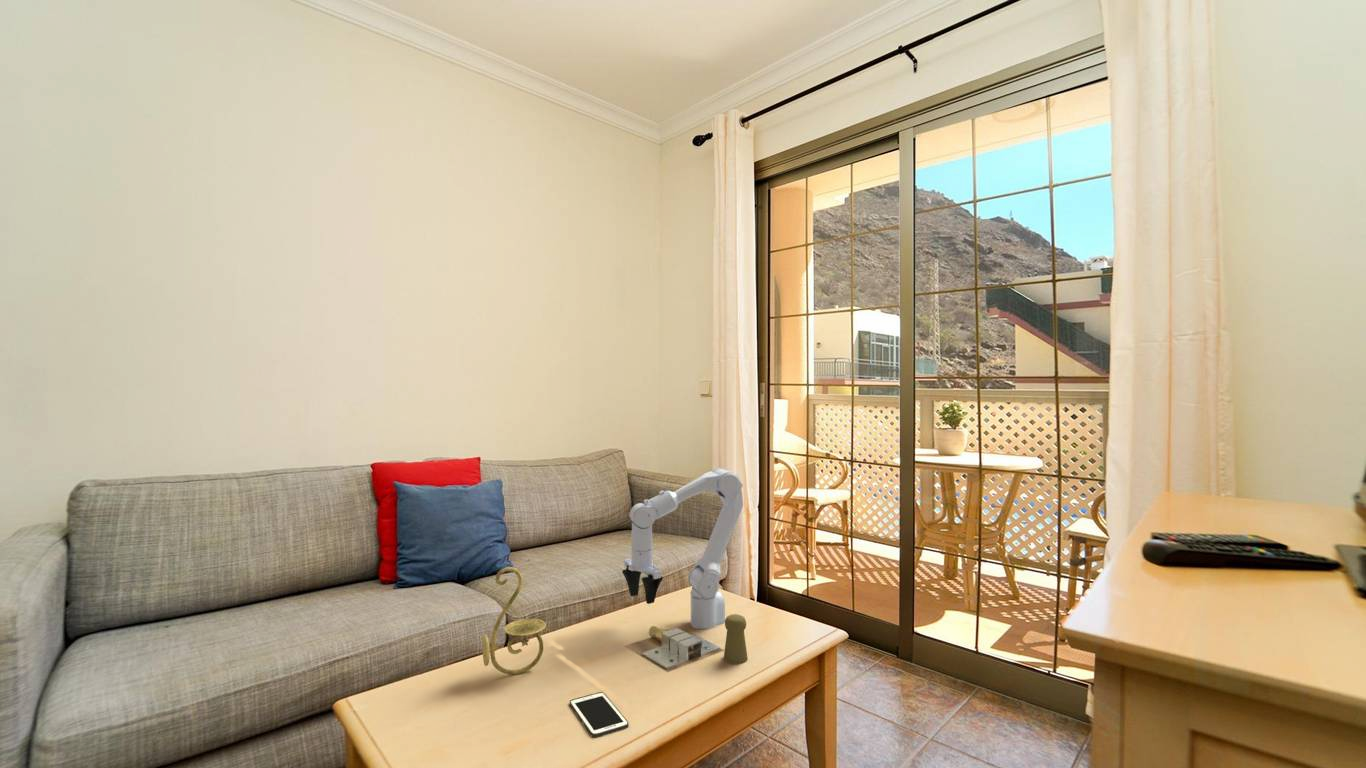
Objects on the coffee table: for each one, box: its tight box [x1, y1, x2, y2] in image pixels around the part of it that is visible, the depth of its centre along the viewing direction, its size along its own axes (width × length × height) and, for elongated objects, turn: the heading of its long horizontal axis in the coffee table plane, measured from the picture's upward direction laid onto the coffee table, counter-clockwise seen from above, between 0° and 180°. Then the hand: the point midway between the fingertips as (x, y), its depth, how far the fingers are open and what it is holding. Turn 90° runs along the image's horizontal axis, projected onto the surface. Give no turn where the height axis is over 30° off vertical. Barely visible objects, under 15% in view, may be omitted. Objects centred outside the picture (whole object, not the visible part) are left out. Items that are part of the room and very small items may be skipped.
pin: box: [648, 625, 667, 642], centre depth 151 cm, size 10×3×3 cm, turn 39°
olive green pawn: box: [723, 613, 748, 665], centre depth 142 cm, size 6×6×11 cm
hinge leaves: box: [642, 627, 721, 669], centre depth 146 cm, size 17×10×4 cm, turn 129°
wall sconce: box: [481, 566, 547, 676], centre depth 136 cm, size 14×10×25 cm
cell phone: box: [569, 691, 630, 739], centre depth 119 cm, size 8×15×1 cm, turn 29°
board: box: [624, 627, 725, 673], centre depth 148 cm, size 18×18×1 cm
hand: (642, 599), depth 159 cm, fingers open, 7 cm apart
